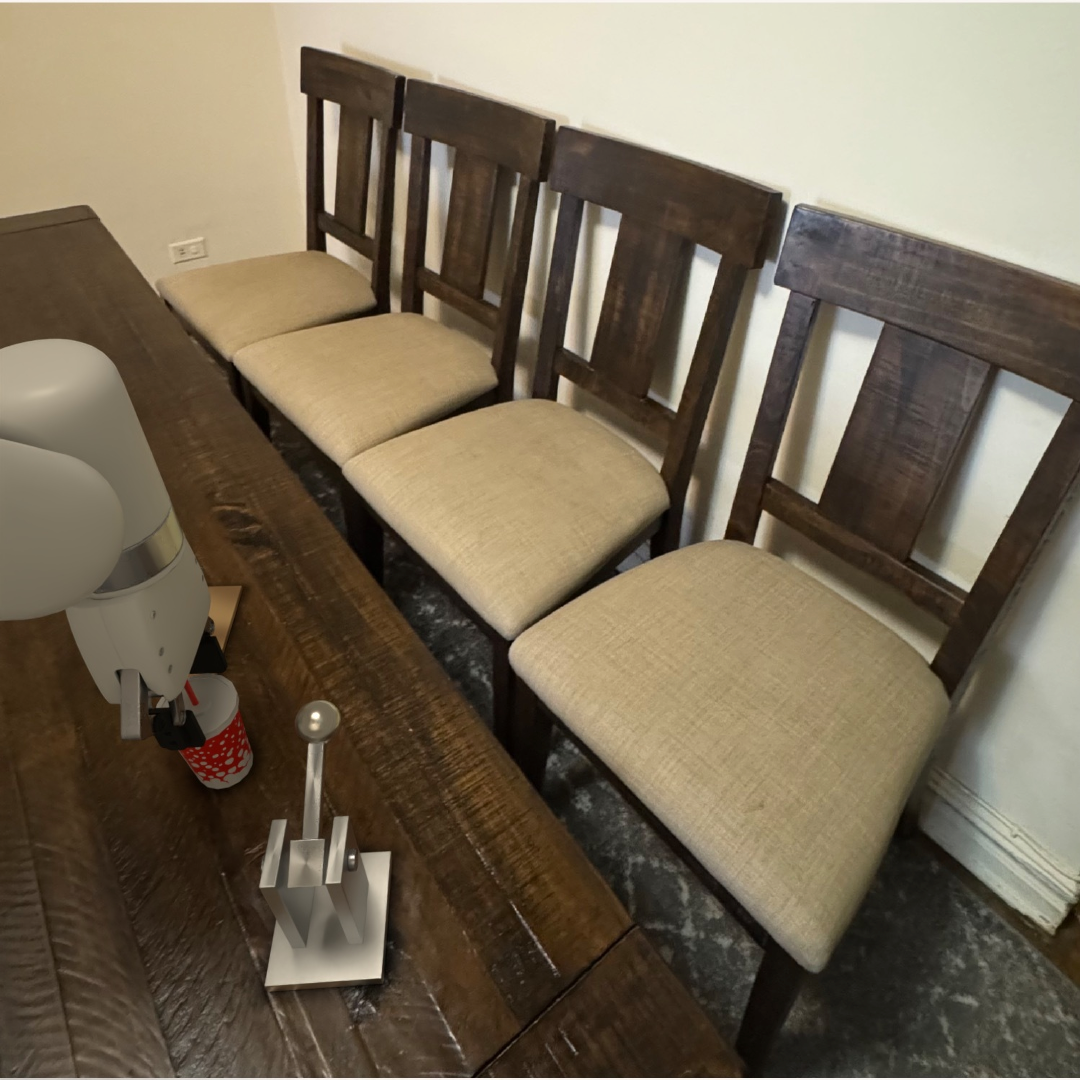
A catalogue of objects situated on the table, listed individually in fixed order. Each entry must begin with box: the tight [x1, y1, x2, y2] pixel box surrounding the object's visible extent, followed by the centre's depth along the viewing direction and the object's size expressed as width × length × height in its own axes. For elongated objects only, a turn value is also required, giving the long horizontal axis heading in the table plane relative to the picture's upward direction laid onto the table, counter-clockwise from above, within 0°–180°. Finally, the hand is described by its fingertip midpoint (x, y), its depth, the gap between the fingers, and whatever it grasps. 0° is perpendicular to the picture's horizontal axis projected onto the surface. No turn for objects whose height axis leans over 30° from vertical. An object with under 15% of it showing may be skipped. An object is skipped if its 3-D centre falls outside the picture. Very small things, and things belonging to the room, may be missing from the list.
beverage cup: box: [155, 673, 254, 790], centre depth 60 cm, size 6×6×14 cm
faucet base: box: [258, 815, 393, 992], centre depth 51 cm, size 9×8×12 cm
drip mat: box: [188, 585, 244, 677], centre depth 75 cm, size 12×10×1 cm
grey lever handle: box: [287, 699, 343, 888], centre depth 50 cm, size 12×3×3 cm, turn 4°
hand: (196, 704), depth 58 cm, fingers closed on beverage cup, 6 cm apart
